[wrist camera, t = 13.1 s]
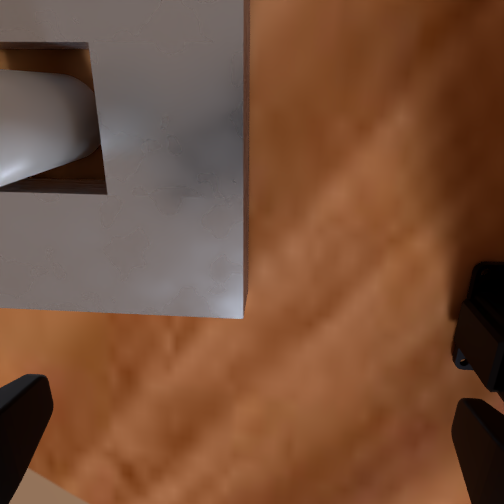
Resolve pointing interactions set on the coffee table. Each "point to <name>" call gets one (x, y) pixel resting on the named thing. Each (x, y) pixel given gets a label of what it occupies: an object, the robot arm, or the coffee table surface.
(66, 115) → the plug
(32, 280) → the housing
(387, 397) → the coffee table surface
